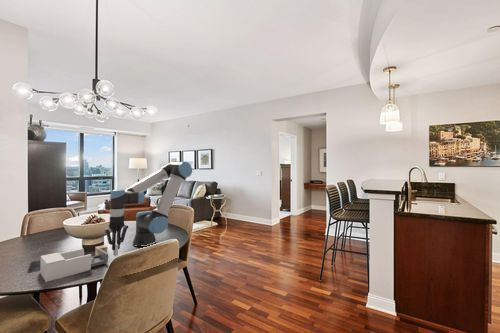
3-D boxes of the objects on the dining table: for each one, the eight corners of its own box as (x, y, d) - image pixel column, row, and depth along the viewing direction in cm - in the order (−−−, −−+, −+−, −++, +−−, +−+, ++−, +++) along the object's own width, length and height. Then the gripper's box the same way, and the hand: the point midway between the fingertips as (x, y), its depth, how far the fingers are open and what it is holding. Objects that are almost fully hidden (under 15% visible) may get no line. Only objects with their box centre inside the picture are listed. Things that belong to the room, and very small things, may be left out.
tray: (100, 257, 137) (100, 248, 137) (107, 262, 129) (108, 253, 129) (64, 266, 123) (64, 256, 123) (70, 272, 116) (70, 262, 116)
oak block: (104, 252, 146) (104, 244, 146) (107, 254, 143) (107, 246, 143) (95, 255, 142) (95, 246, 142) (98, 257, 139) (98, 248, 139)
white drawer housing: (82, 262, 131) (83, 247, 131) (90, 269, 122) (91, 253, 122) (40, 272, 117) (40, 255, 117) (45, 282, 108) (46, 263, 108)
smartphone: (26, 272, 116) (30, 262, 128) (26, 274, 116) (30, 263, 128) (46, 268, 121) (48, 259, 133) (46, 270, 121) (48, 260, 133)
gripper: (125, 213, 145) (124, 250, 145) (102, 216, 135) (101, 256, 135) (131, 215, 141) (129, 253, 140) (107, 218, 131) (105, 259, 130)
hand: (115, 255), depth 138 cm, fingers closed
